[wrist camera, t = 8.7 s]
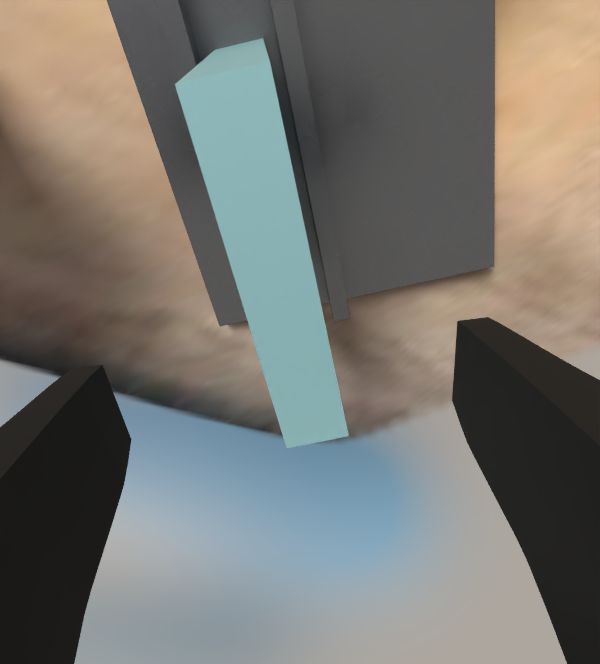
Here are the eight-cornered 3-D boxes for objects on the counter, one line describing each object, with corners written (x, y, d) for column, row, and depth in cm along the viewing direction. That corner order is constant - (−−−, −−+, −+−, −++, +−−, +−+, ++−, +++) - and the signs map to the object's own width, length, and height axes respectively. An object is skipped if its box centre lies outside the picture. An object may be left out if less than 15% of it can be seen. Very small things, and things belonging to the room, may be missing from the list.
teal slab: (274, 280, 20) (286, 448, 12) (214, 49, 15) (175, 84, 8) (312, 272, 20) (348, 435, 12) (262, 38, 15) (269, 61, 8)
